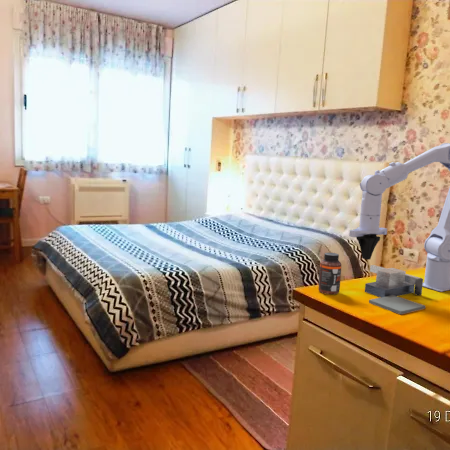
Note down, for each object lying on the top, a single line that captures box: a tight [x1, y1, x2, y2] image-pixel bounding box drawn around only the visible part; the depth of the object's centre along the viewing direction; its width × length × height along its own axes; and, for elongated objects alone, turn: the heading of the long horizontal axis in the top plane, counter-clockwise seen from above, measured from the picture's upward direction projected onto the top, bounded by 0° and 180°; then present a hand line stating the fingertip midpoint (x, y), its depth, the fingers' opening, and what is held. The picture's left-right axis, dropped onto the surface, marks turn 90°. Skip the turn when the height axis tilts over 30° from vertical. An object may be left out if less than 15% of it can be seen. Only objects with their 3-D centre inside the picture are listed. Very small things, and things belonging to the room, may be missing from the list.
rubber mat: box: [368, 295, 426, 315], centre depth 118 cm, size 10×10×1 cm
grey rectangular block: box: [375, 267, 407, 288], centre depth 129 cm, size 7×4×4 cm, turn 122°
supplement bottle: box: [318, 252, 342, 295], centre depth 127 cm, size 6×6×11 cm
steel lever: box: [369, 264, 424, 296], centre depth 134 cm, size 2×18×5 cm, turn 32°
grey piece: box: [364, 281, 415, 298], centre depth 130 cm, size 13×7×2 cm, turn 122°
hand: (366, 258), depth 135 cm, fingers closed
